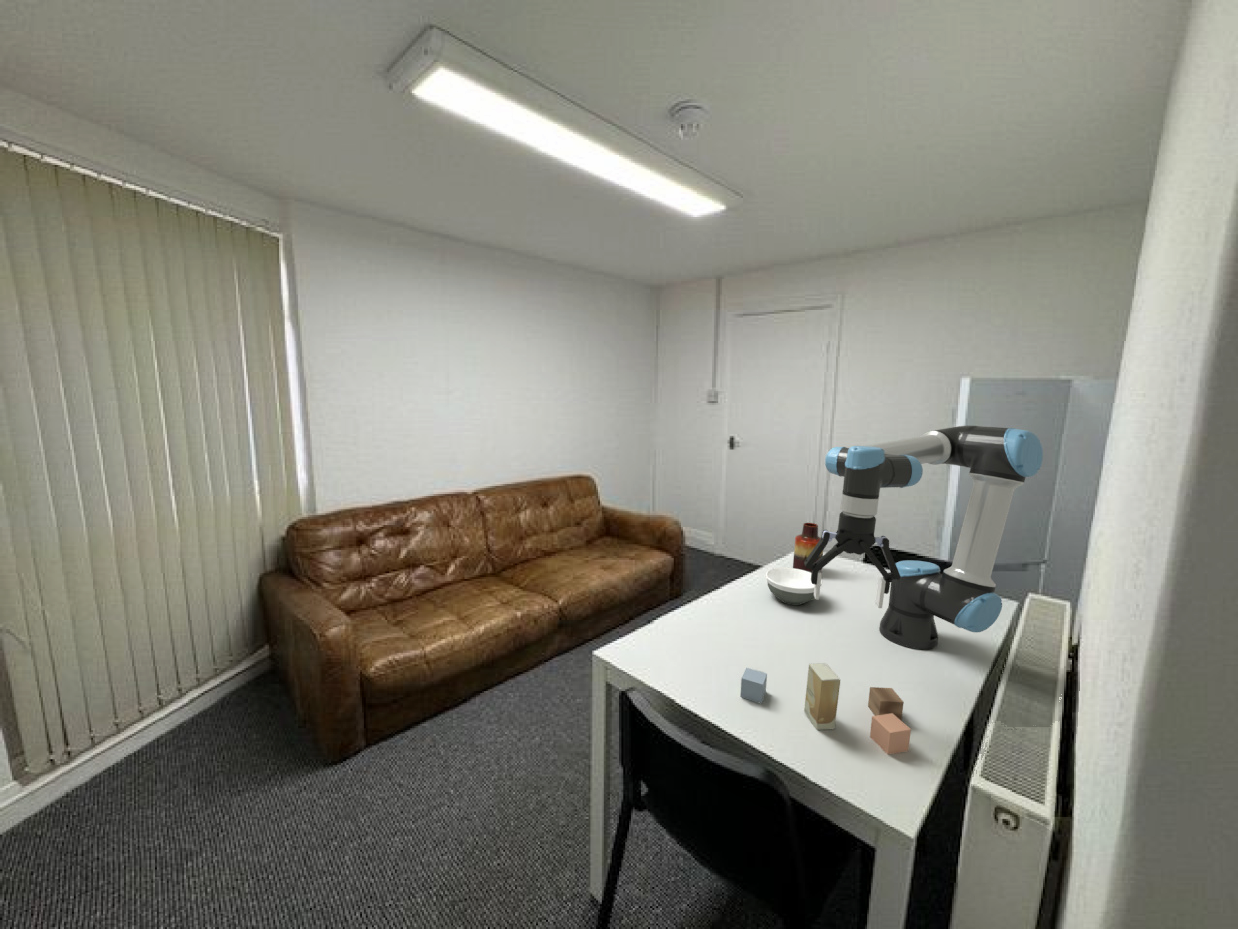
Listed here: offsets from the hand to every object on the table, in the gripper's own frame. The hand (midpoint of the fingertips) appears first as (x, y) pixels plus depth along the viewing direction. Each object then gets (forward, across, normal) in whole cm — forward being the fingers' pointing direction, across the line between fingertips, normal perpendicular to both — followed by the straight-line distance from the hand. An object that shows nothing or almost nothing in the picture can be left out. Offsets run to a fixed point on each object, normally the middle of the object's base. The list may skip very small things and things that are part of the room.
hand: (846, 601), depth 112 cm
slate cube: (+25, +19, +5) cm, 32 cm away
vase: (+22, -4, -80) cm, 84 cm away
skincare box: (+25, +5, +11) cm, 27 cm away
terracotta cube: (+24, -8, +14) cm, 29 cm away
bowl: (+23, +4, -53) cm, 58 cm away
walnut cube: (+24, -10, +4) cm, 26 cm away
